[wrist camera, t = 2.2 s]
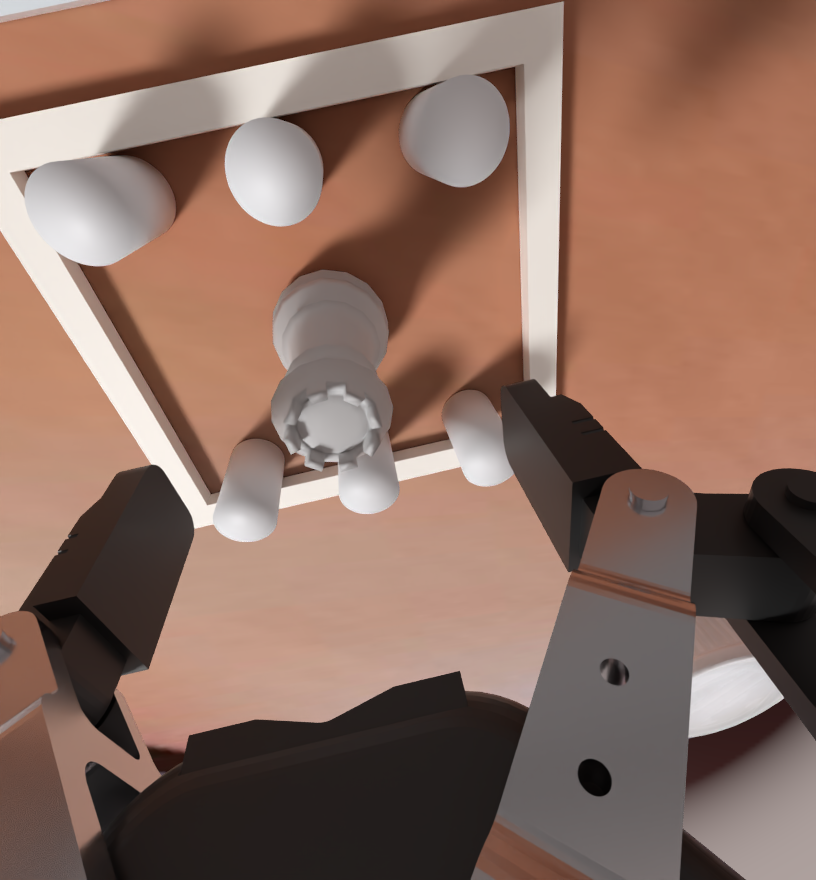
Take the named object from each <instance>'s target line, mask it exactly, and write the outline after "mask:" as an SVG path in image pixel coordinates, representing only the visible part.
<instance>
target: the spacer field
mask: <svg viewBox="0 0 816 880" xmlns="http://www.w3.org/2000/svg"><path fill="white" fill-rule="evenodd" d="M563 16H564V1H563V2H558V3H553V4H548V5H544V6H539V7H534V8H529V9H524V10H520V11H515V12H510V13H505V14H501V15H496V16H491V17H486V18H481V19H477V20H472V21H467V22H462V23H458V24H453V25H448V26H443V27H438V28H434V29H429V30H424V31H419V32H415V33H410V34H405V35H400V36H395V37H391V38H386V39H381V40H376V41H372V42H367V43H362V44H357V45H352V46H348V47H343V48H338V49H333V50H329V51H324V52H319V53H314V54H309V55H305V56H300V57H295V58H290V59H286V60H281V61H276V62H271V63H266V64H262V65H257V66H252V67H247V68H243V69H238V70H233V71H228V72H223V73H219V74H214V75H209V76H204V77H200V78H195V79H190V80H185V81H180V82H176V83H171V84H166V85H161V86H157V87H152V88H147V89H142V90H137V91H133V92H128V93H123V94H118V95H114V96H109V97H104V98H99V99H94V100H90V101H85V102H80V103H75V104H71V105H66V106H61V107H56V108H51V109H47V110H42V111H37V112H32V113H28V114H23V115H18V116H13V117H8V118H4V119H0V231H1V232H2V234H3V235H4V237H5V238H6V240H7V242H8V243H9V245H10V246H11V248H12V249H13V251H14V252H15V254H16V255H17V257H18V259H19V260H20V262H21V263H22V265H23V266H24V268H25V269H26V271H27V272H28V274H29V276H30V277H31V279H32V280H33V282H34V283H35V285H36V286H37V288H38V289H39V291H40V293H41V294H42V296H43V297H44V299H45V300H46V302H47V303H48V305H49V306H50V308H51V310H52V311H53V313H54V314H55V316H56V317H57V319H58V320H59V322H60V323H61V325H62V327H63V328H64V330H65V331H66V333H67V334H68V336H69V337H70V339H71V340H72V342H73V344H74V345H75V347H76V348H77V350H78V351H79V353H80V354H81V356H82V358H83V359H84V361H85V362H86V364H87V365H88V367H89V368H90V370H91V371H92V373H93V375H94V376H95V378H96V379H97V381H98V382H99V384H100V385H101V387H102V388H103V390H104V392H105V393H106V395H107V396H108V398H109V399H110V401H111V402H112V404H113V405H114V407H115V409H116V410H117V412H118V413H119V415H120V416H121V418H122V419H123V421H124V422H125V424H126V426H127V427H128V429H129V430H130V432H131V433H132V435H133V436H134V438H135V439H136V441H137V443H138V444H139V446H140V447H141V449H142V450H143V452H144V453H145V455H146V456H147V458H148V460H149V461H150V463H151V464H152V465H157V466H159V467H160V468H161V469H162V470H163V471H164V472H165V474H166V475H167V477H168V478H169V480H170V482H171V483H172V485H173V486H174V488H175V490H176V491H177V493H178V494H179V496H180V497H181V499H182V501H183V502H184V504H185V505H186V507H187V509H188V510H189V512H190V514H191V516H192V519H193V524H194V529H195V528H199V527H204V526H208V525H212V524H214V525H215V527H216V529H217V530H218V531H219V532H220V533H221V534H222V535H224V536H225V537H227V538H229V539H232V540H235V541H240V542H253V541H258V540H261V539H263V538H265V537H267V536H268V535H270V534H271V533H272V532H273V531H274V529H275V527H276V525H277V518H278V510H279V509H281V508H286V507H290V506H294V505H299V504H303V503H307V502H312V501H316V500H320V499H324V498H329V497H333V496H337V495H339V497H340V500H341V502H342V503H343V504H344V506H345V507H347V508H348V509H350V510H351V511H354V512H357V513H361V514H373V513H377V512H381V511H383V510H385V509H387V508H388V507H390V506H391V505H392V504H393V503H394V502H395V501H396V499H397V497H398V495H399V482H398V481H402V480H406V479H411V478H415V477H419V476H424V475H428V474H432V473H436V472H441V471H445V470H449V469H454V468H458V467H461V468H462V471H463V473H464V475H465V477H466V478H467V480H468V481H470V482H471V483H473V484H475V485H478V486H493V485H497V484H500V483H502V482H504V481H506V480H507V479H509V478H510V477H511V476H512V475H513V474H514V472H513V470H512V468H511V466H510V464H509V462H508V459H507V456H506V452H505V448H504V441H503V426H502V420H501V418H500V416H499V415H498V413H497V412H496V410H495V408H494V407H493V405H492V403H491V402H490V400H489V398H488V397H487V396H486V395H485V394H484V393H482V392H480V391H477V390H463V391H460V392H458V393H456V394H454V395H453V396H451V397H450V398H449V399H448V400H447V402H446V403H445V405H444V407H443V409H442V421H443V423H444V426H445V428H446V431H447V433H448V436H449V438H450V439H448V440H444V441H439V442H435V443H431V444H426V445H422V446H418V447H413V448H409V449H405V450H400V451H396V452H392V448H391V443H390V438H389V433H388V431H387V433H386V434H385V436H384V437H383V439H382V441H381V444H380V446H379V447H378V449H377V450H376V452H375V453H374V455H373V456H372V457H371V456H369V455H368V454H364V455H363V456H360V457H357V463H358V467H357V468H353V469H350V470H347V471H343V472H340V467H339V462H338V465H335V466H331V467H327V468H323V470H322V472H321V471H318V470H314V471H309V472H305V473H301V474H296V475H292V476H288V477H283V472H284V464H285V458H284V454H283V452H282V451H281V449H280V448H279V447H278V446H276V445H275V444H274V443H272V442H270V441H267V440H263V439H249V440H245V441H243V442H241V443H239V444H238V445H237V446H236V447H235V448H234V449H233V451H232V454H231V457H230V461H229V464H228V467H227V470H226V474H225V477H224V480H223V484H222V487H221V490H220V492H218V493H214V494H210V492H209V490H208V488H207V487H206V485H205V483H204V481H203V480H202V478H201V476H200V474H199V473H198V471H197V469H196V468H195V466H194V464H193V462H192V461H191V459H190V457H189V455H188V454H187V452H186V450H185V448H184V447H183V445H182V443H181V442H180V440H179V438H178V436H177V435H176V433H175V431H174V429H173V428H172V426H171V424H170V422H169V421H168V419H167V417H166V416H165V414H164V412H163V410H162V409H161V407H160V405H159V403H158V402H157V400H156V398H155V396H154V395H153V393H152V391H151V390H150V388H149V386H148V384H147V383H146V381H145V379H144V377H143V376H142V374H141V372H140V370H139V369H138V367H137V365H136V364H135V362H134V360H133V358H132V357H131V355H130V353H129V351H128V350H127V348H126V346H125V344H124V343H123V341H122V339H121V338H120V336H119V334H118V332H117V331H116V329H115V327H114V325H113V324H112V322H111V320H110V318H109V317H108V315H107V313H106V312H105V310H104V308H103V306H102V305H101V303H100V301H99V299H98V298H97V296H96V294H95V292H94V291H93V289H92V287H91V286H90V284H89V282H88V280H87V279H86V277H85V275H84V273H83V272H82V270H81V268H80V266H79V265H78V263H80V264H84V265H89V266H105V265H110V264H113V263H115V262H117V261H119V260H121V259H122V258H124V257H126V256H127V255H129V254H131V253H132V252H134V251H136V250H137V249H139V248H141V247H142V246H144V245H146V244H147V243H149V242H151V241H152V240H154V239H156V238H157V237H159V236H161V235H162V234H164V233H165V232H166V231H167V230H168V229H169V228H170V227H171V226H172V224H173V222H174V219H175V215H176V201H175V197H174V194H173V191H172V189H171V187H170V185H169V183H168V182H167V180H166V179H165V178H164V176H163V175H162V174H161V173H160V172H159V171H158V170H157V169H156V168H155V167H154V166H152V165H151V164H149V163H148V162H146V161H144V160H142V159H140V158H138V157H134V156H129V155H115V156H105V157H95V158H88V157H92V156H97V155H102V154H107V153H111V152H116V151H121V150H125V149H130V148H135V147H140V146H144V145H149V144H154V143H158V142H163V141H168V140H173V139H177V138H182V137H187V136H191V135H196V134H201V133H206V132H210V131H215V130H220V129H224V128H229V127H234V126H239V125H242V126H241V127H240V128H239V129H238V130H237V131H236V132H235V133H234V135H233V136H232V138H231V140H230V141H229V144H228V147H227V150H226V155H225V172H226V178H227V181H228V185H229V187H230V190H231V192H232V194H233V196H234V197H235V199H236V200H237V202H238V203H239V205H240V206H241V207H242V208H243V209H244V210H245V211H246V212H247V213H248V214H249V215H251V216H252V217H254V218H255V219H257V220H259V221H260V222H263V223H265V224H269V225H272V226H290V225H293V224H296V223H298V222H300V221H302V220H303V219H305V218H306V217H307V216H308V215H310V213H311V212H312V211H313V210H314V208H315V207H316V205H317V203H318V201H319V198H320V195H321V190H322V183H323V171H324V169H323V160H322V156H321V153H320V151H319V148H318V146H317V145H316V143H315V141H314V140H313V139H312V137H311V136H310V135H309V134H308V133H307V132H306V131H305V130H303V129H302V128H300V127H299V126H297V125H295V124H292V123H289V122H286V121H283V120H280V119H276V117H281V116H286V115H290V114H295V113H300V112H305V111H309V110H314V109H319V108H323V107H328V106H333V105H338V104H342V103H347V102H352V101H356V100H361V99H366V98H371V97H375V96H380V95H385V94H389V93H394V92H399V91H404V90H408V89H413V88H418V87H422V86H427V85H432V84H437V83H440V84H438V85H435V86H433V87H431V88H429V89H427V90H425V91H423V92H420V93H419V94H417V95H416V96H415V97H414V98H413V99H411V101H410V102H409V103H408V104H407V106H406V108H405V109H404V112H403V114H402V116H401V120H400V124H399V144H400V148H401V151H402V154H403V156H404V158H405V159H406V161H407V162H408V164H409V165H410V166H411V167H412V168H413V169H414V170H416V171H417V172H419V173H421V174H423V175H425V176H428V177H430V178H433V179H435V180H437V181H440V182H442V183H445V184H447V185H450V186H454V187H469V186H472V185H475V184H477V183H480V182H481V181H483V180H484V179H486V178H487V177H488V176H489V175H491V173H492V172H493V171H494V170H495V169H496V168H497V166H498V165H499V163H500V162H501V160H502V158H503V156H504V154H505V151H506V148H507V144H508V140H509V133H510V122H509V114H508V110H507V106H506V103H505V101H504V99H503V97H502V95H501V94H500V92H499V91H498V90H497V88H496V87H495V86H494V85H493V84H491V83H490V82H489V81H487V80H486V79H484V78H482V77H479V76H475V75H479V74H484V73H488V72H493V71H498V70H503V69H507V68H512V67H515V80H516V117H517V154H518V191H519V228H520V265H521V302H522V340H523V377H524V381H527V380H531V379H535V380H536V381H537V382H538V383H539V384H540V385H541V386H542V388H543V389H544V390H545V391H546V392H547V393H548V395H549V396H550V397H553V396H556V362H557V313H558V263H559V214H560V164H561V115H562V66H563ZM441 82H442V83H441ZM83 158H84V159H83ZM36 168H37V169H36ZM31 169H36V170H35V171H34V172H33V173H32V174H31V175H30V177H29V178H28V176H27V175H26V173H25V171H26V170H31ZM77 262H78V263H77Z"/></svg>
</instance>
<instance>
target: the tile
mask: <svg viewBox="0 0 816 880" xmlns="http://www.w3.org/2000/svg"><path fill="white" fill-rule="evenodd" d="M104 1H109V0H0V23H1V22H6V21H11V20H16V19H21V18H26V17H30V16H35V15H40V14H45V13H50V12H55V11H60V10H65V9H70V8H74V7H79V6H84V5H89V4H94V3H99V2H104Z"/></svg>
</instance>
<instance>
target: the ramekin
mask: <svg viewBox="0 0 816 880" xmlns="http://www.w3.org/2000/svg"><path fill="white" fill-rule="evenodd" d="M783 698H784V697H783V695H782V694H781V693H780V691H779V690H778V689H777V687H776V686H775V685H774V683H773V682H772V681H771V679H770V678H769V677H768V675H767V674H766V673H765V671H764V670H763V669H762V667H761V666H760V664H759V663H758V662H757V660H756V659H755V658H754V656H753V655H752V654H751V652H750V651H749V650H748V648H747V647H746V646H745V644H744V643H743V642H742V640H741V639H740V638H739V636H738V635H737V633H736V632H735V631H734V629H733V628H732V627H731V625H730V624H729V623H728V621H727V620H726V619H725V618H717V617H703V616H696V623H695V639H694V655H693V672H692V688H691V704H690V720H689V736H688V738H689V737H696V736H702V735H706V734H710V733H714V732H718V731H720V730H724V729H727V728H730V727H732V726H735V725H737V724H739V723H742V722H744V721H746V720H748V719H750V718H752V717H754V716H756V715H758V714H760V713H761V712H763V711H765V710H767V709H768V708H770V707H771V706H773V705H775V704H776V703H778V702H779V701H781V700H782V699H783Z"/></svg>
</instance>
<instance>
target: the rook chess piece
mask: <svg viewBox="0 0 816 880" xmlns="http://www.w3.org/2000/svg"><path fill="white" fill-rule="evenodd" d="M388 335H389V330H388V320H387V317H386V313H385V310H384V307H383V303H382V301H381V300H380V299H379V297H378V296H377V295H376V294H375V292H374V291H373V290H372V289H371V287H370V286H369V285H368V284H367V283H365V282H363V281H362V280H360V279H358V278H356V277H354V276H353V275H351V274H349V273H347V272H340V271H331V270H319V271H316V272H313V273H309V274H306V275H303V276H299V277H298V278H297V279H296V280H295V281H294V282H293V283H291V284H290V285H289V286H288V287H287V288H286V289H285V290H284V291H282V293H281V295H280V298H279V300H278V302H277V304H276V307H275V309H274V311H273V344H274V347H275V349H276V351H277V353H278V355H279V358H280V360H281V362H282V364H283V366H284V367H285V368H286V369H287V370H288V371H287V373H286V375H285V377H284V378H283V379H282V380H281V381H280V383H279V385H278V387H277V389H276V391H275V394H274V396H273V398H272V400H271V411H272V423H273V425H274V427H275V429H276V431H277V432H278V434H279V436H280V438H281V440H282V441H283V442H284V443H285V444H286V446H287V448H288V450H289V452H290V454H293V453H295V452H296V453H298V454H300V455H302V456H305V466H307V467H309V468H312V469H315V470H318V471H321V472H322V470H323V466H324V462H339V467H340V472H343V471H347V470H350V469H353V468H357V467H358V463H357V457H360V456H363V455H364V454H368V455H369V456H371V457H372V456H373V455H374V453H375V452H376V450H377V449H378V447H379V446H380V444H381V441H382V439H383V437H384V436H385V434H386V433H387V431H388V430H389V428H390V426H391V419H392V412H393V405H392V401H391V398H390V395H389V392H388V389H387V387H386V385H385V384H384V383H383V382H382V381H381V380H380V379H379V378H378V376H377V373H376V370H377V368H378V366H379V365H380V363H381V361H382V359H383V358H384V356H385V354H386V351H387V343H388Z"/></svg>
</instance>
